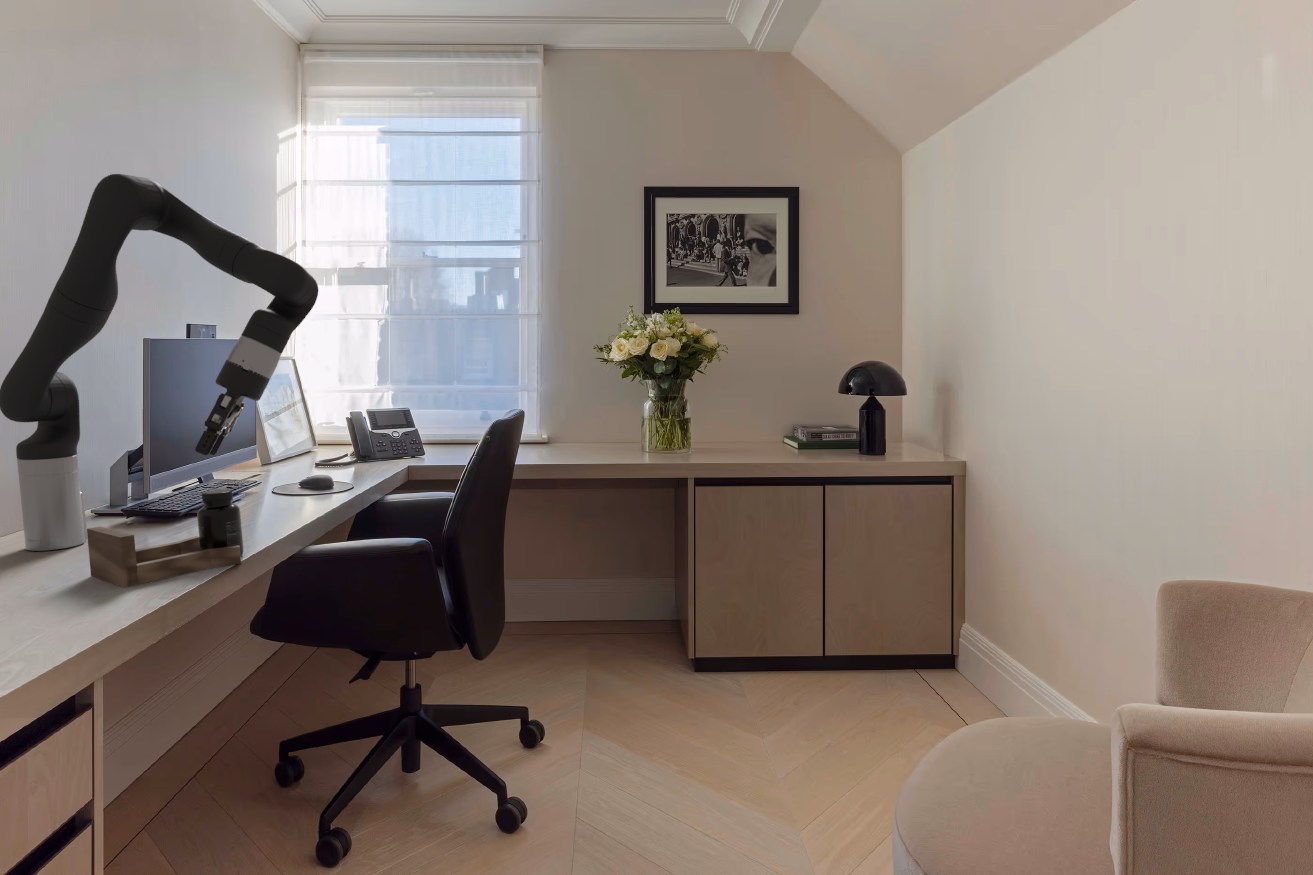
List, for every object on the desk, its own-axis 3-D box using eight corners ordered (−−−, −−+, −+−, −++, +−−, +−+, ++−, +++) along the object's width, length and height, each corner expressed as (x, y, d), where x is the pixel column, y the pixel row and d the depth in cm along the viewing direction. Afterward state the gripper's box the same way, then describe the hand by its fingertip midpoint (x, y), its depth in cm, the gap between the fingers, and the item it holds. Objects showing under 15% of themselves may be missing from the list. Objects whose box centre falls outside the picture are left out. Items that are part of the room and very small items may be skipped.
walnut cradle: (199, 551, 151) (196, 509, 150) (243, 562, 143) (240, 517, 142) (86, 574, 136) (82, 527, 135) (129, 588, 128) (124, 538, 127)
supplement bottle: (239, 550, 152) (235, 486, 151) (247, 557, 146) (242, 491, 145) (197, 556, 148) (192, 490, 146) (204, 564, 142) (199, 495, 141)
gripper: (232, 362, 148) (189, 444, 145) (221, 354, 134) (174, 443, 132) (273, 381, 150) (232, 461, 147) (267, 374, 137) (222, 462, 134)
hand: (204, 453), depth 140 cm, fingers open, 8 cm apart
